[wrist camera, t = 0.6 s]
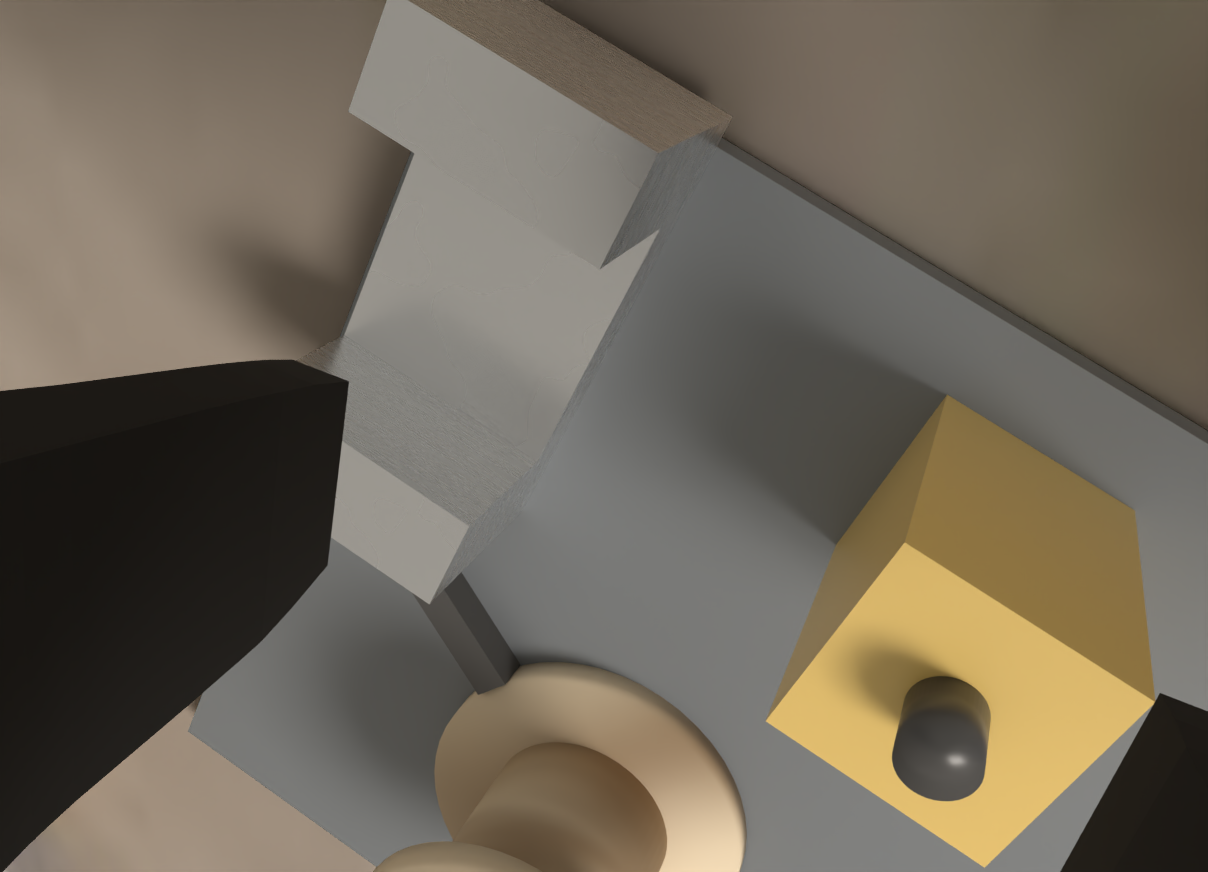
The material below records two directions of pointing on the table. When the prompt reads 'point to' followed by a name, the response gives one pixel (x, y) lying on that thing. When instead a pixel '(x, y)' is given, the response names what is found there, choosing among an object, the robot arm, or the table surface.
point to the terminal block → (495, 265)
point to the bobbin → (578, 782)
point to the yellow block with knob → (973, 636)
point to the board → (720, 536)
